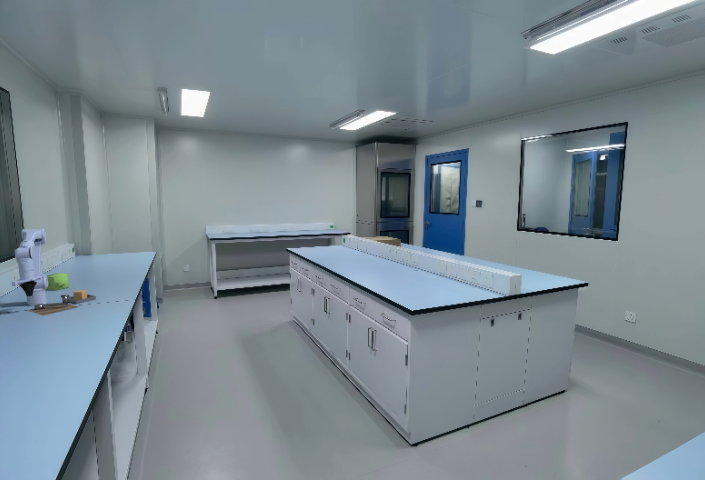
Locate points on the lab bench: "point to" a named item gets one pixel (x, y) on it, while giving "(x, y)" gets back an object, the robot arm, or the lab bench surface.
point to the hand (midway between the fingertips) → (29, 295)
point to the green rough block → (57, 281)
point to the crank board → (53, 309)
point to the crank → (64, 302)
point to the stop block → (80, 294)
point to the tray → (89, 298)
